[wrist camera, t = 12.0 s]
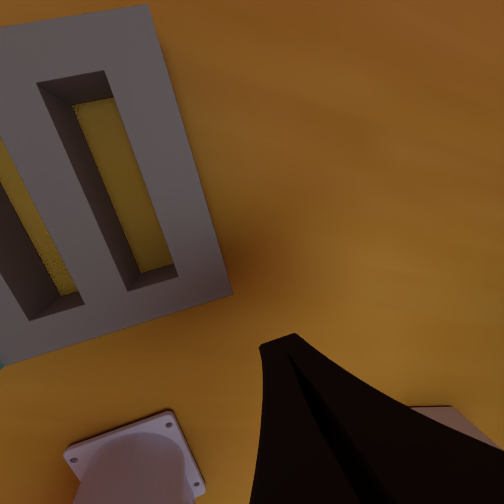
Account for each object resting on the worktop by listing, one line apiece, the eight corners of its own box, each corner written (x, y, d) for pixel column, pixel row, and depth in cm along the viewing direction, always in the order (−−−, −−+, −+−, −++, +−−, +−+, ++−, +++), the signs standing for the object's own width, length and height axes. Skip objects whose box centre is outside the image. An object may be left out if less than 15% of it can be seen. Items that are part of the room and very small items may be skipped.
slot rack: (227, 276, 17) (233, 296, 14) (-59, 363, 15) (-127, 410, 12) (159, 43, 13) (146, -2, 10) (-250, 115, 11) (-429, 87, 8)
